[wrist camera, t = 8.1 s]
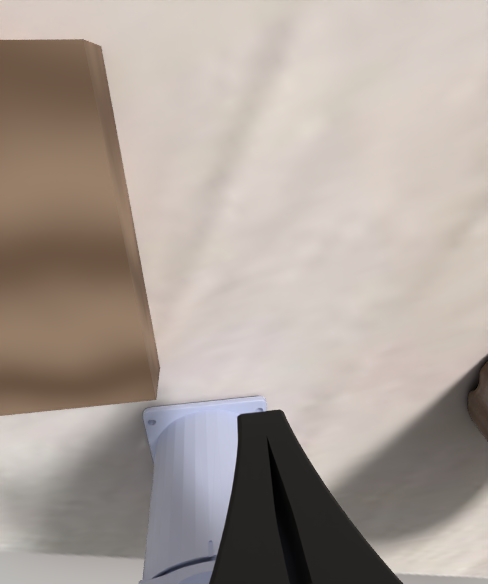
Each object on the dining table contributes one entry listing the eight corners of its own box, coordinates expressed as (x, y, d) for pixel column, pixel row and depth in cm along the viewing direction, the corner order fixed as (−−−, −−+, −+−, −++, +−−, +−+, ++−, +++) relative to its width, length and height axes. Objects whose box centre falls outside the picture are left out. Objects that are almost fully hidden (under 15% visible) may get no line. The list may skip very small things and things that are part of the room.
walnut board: (160, 368, 21) (156, 399, 19) (-17, 384, 20) (-41, 419, 18) (100, 46, 13) (82, 39, 11) (-198, 48, 12) (-280, 41, 10)
